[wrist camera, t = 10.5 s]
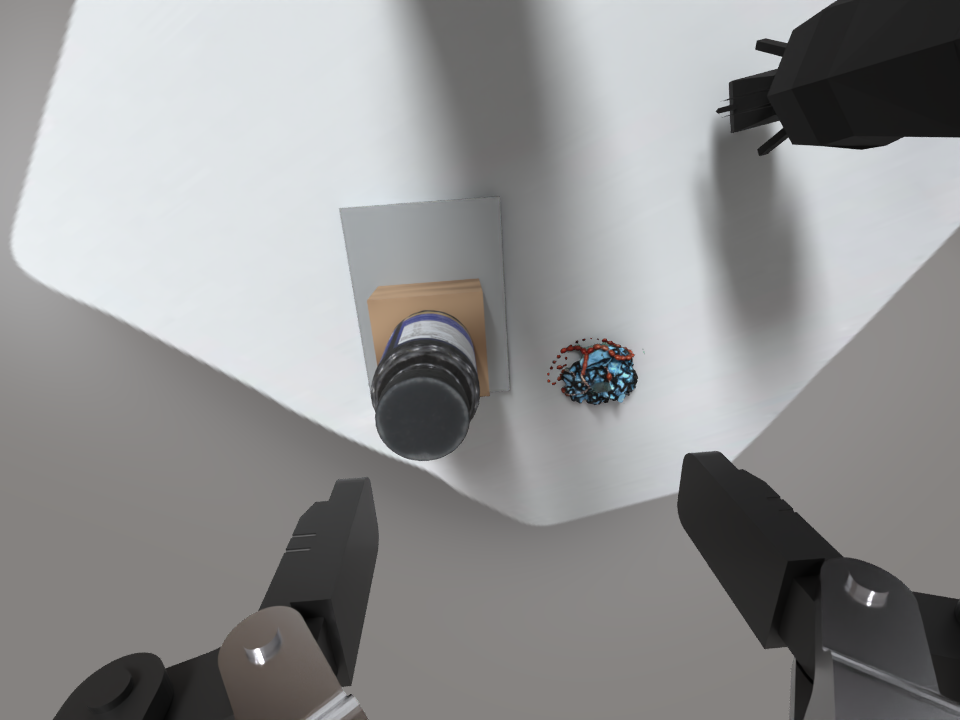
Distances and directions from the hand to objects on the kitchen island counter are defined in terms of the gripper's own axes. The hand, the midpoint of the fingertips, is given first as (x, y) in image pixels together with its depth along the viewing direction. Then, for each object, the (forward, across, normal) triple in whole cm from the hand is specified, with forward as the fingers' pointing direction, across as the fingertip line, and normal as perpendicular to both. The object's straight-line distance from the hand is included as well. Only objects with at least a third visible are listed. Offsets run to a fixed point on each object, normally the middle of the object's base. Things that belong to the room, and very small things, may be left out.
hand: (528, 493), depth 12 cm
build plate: (+28, +4, +2) cm, 28 cm away
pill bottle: (+22, +4, +4) cm, 22 cm away
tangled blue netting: (+28, -10, +9) cm, 31 cm away
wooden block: (+26, +4, +4) cm, 27 cm away
